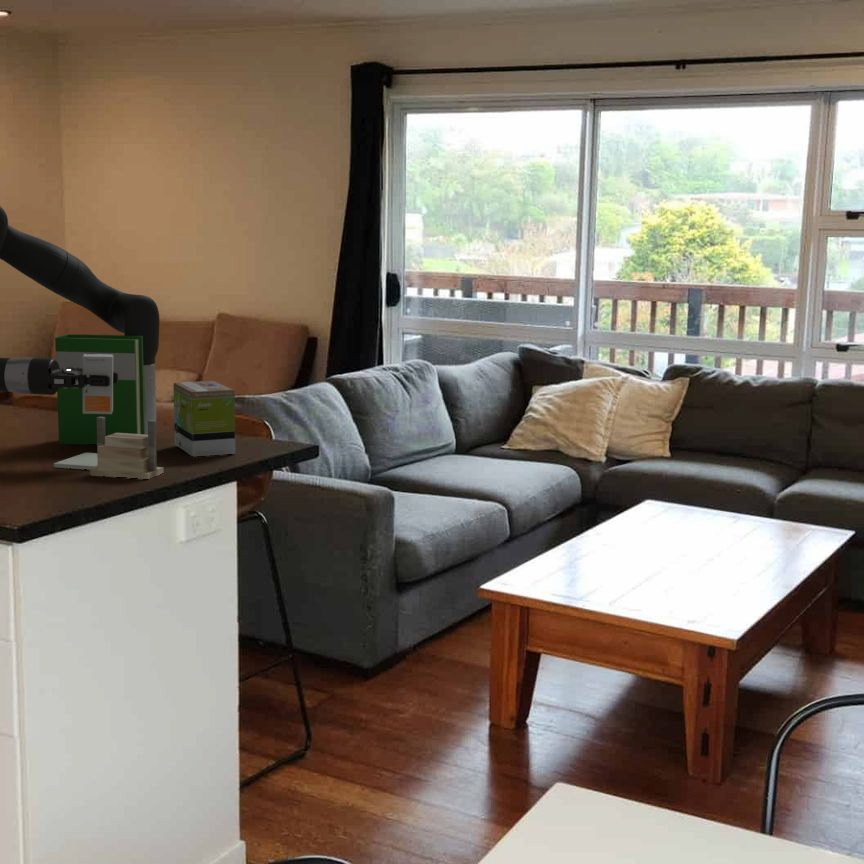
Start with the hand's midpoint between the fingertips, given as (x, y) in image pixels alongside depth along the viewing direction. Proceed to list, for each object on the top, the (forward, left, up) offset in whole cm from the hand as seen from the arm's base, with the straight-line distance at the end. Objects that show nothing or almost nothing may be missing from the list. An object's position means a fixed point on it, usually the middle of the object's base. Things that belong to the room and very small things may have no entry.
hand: (113, 379), depth 249 cm
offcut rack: (+9, +7, -18) cm, 21 cm away
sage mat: (+1, -5, -18) cm, 18 cm away
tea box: (-21, +11, -18) cm, 30 cm away
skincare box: (+1, -3, -7) cm, 8 cm away
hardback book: (-23, -15, -18) cm, 32 cm away
